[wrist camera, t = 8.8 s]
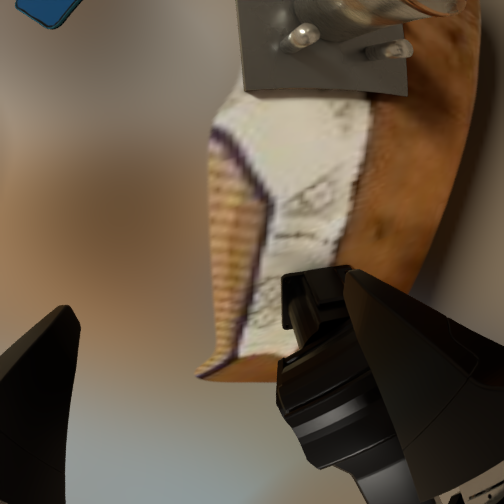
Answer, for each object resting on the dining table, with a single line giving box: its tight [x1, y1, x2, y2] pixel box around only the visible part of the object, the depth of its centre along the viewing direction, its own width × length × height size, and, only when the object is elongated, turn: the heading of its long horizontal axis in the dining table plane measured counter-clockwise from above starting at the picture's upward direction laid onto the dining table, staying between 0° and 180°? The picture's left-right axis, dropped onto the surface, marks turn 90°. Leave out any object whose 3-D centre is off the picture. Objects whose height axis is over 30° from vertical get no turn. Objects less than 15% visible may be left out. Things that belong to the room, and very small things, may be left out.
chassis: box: [235, 0, 413, 97], centre depth 11 cm, size 12×12×5 cm
